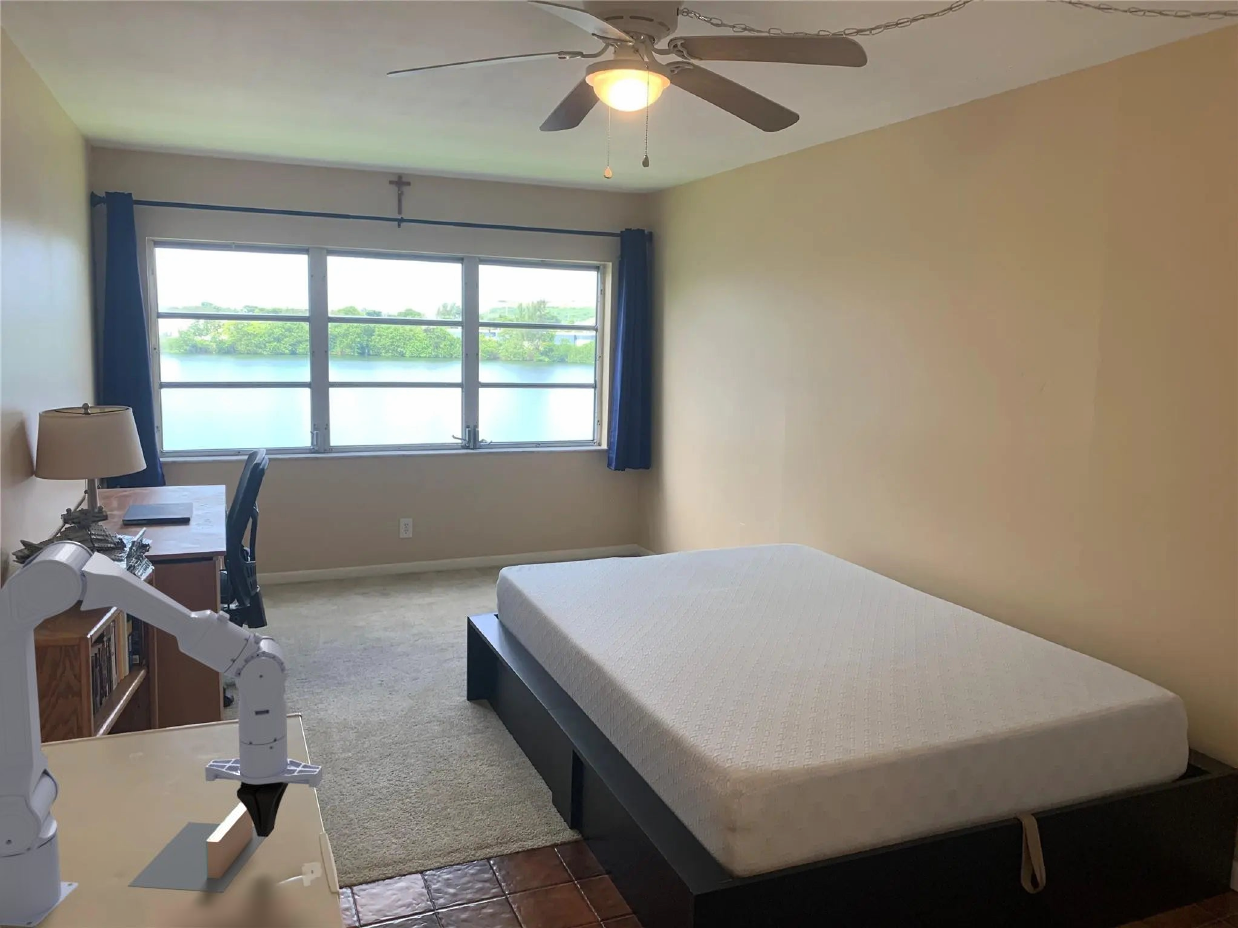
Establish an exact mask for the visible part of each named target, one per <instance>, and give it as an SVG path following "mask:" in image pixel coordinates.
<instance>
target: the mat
mask: <svg viewBox="0 0 1238 928" xmlns="http://www.w3.org/2000/svg"><path fill="white" fill-rule="evenodd" d="M220 825H221V823H207V822H195V821H194V822H193V821H192V822H191V821H189V822H187V824H185V826H183V828H182V829H181V830H180V831H179V832H178V833H176V835H175V836H174V837H173V838H172V839H171V840H170V841H169V843H167V845H165V847H164V848H163V849H162V850H160V852H159V853H158V854H157V855H156V856H155V857H154V858H153V859H152V860H151V861H150V862H149V863H148V864H147V865H146V866H145V867H144V868H143V869H142V871H140V873H138V874H137V875H136V877H134V879H133V880H131V882H130V883H129V884H128V885H127V886H128V887H134V888H136V887H138V888H149V889H165V890H180V891H195V892H196V891H197V892H209V893H211V892H213V893H224V892H225V890H226V889H227V888H228V887H229V885H230V884H231V883H232V881H233V880H234V879H235V878H236V876H237V875H238V874H239V872H240V871H241V870H242V868H243V867H244V866H245V865H246V863H247V862H248V861H249V859H250V858H252V855H253V854H254V853H255V852H256V850H257V849H258V848H259V847H260V846H261V844H262V842H263V841H265V839H266V838H267V837H258V836H257V833H256V830H255V827H254V825H252V827H253V837H252V839H251V840H250V841H249V842H248V844H247V845H246V846H245V847H244V849H243V850H242V851H241V852H240V854H239V855H238V856H237V857H236V859H235V860H234V861H233V862H232V864H231V865H230V866H229V867H228V869H227V870H226V871H225V872H224V873H223V875H222V876H221V877H220V878H207V863H206V840H207V839H208V838H209V837H210V836H211V835H212V834H213V832H214V831H215V830H216V829H217V828H218V827H219V826H220Z"/></svg>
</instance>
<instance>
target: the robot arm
mask: <svg viewBox="0 0 1238 928" xmlns="http://www.w3.org/2000/svg"><path fill="white" fill-rule="evenodd" d="M78 601H82V603H81V606H80V611H89V610H90V611H91V610H94V609H102V608H106V607H107V608H108V607H115V608H116V609H118V610H121V611H122V612H125V613H126V614H129V615H130V616H133V617H135V618H137V619H139V620H141V621H143V622H145V623H148V624H150V625H151V626H153V627H156V628H158V629H160V630H162V631H164V632H166V633H168V634H170V635H173V636H174V637H175V638H176V641H177V645H178V649H179V651H180V653H181V652H182V653H184V654H185V655H187V656H188V657H190V658H193V659H195V661H198V662H200V663H201V664H204V665H205V666H207V667H209V668H211V669H213V670H214V671H216V672H217V673H220V674H222V675H224V676H225V677H230V678H233V679H234V682H235V683H234V684H235V686H236V688H237V690H238V692H239V701H238V703H237V715H238V717H237V721H238V723H237V725H238V746H239V747H238V749H239V750H238V751H239V752H238V753H239V757H238V758H229V759H212V760H210V762H209V763H208V764H207V765H206V766H205V768H204V769H205V770H204V771H205V782H214V781H216V780H232V781H238V782H240V784H239V785H240V787H239V788H238V789H237V790H236V796H237V797H236V798H237V799H238V800H239V801H240V802H241V803H243V804H244V806H245V807H246V809H247V810H248V812H249V814H250V816H251V819H252V825H253V826H254V827H255V830H256V833H257V836H258V837H266V838H269V836H270V835H271V833H272V832H273V831H274V829H275V825H276V819H277V815H278V811H279V808H280V804H281V803H282V800H283V797H284V796H285V795H284V794H285V793H286V790H287V788H288V786H289V784H296V785H308V787H309V788H314V789H315V788H317V787H318V786H319V785H320V783H321V782H322V781H323V766H320V765H312V764H309V763H305V762H301V761H299V760H294V759H292V758H288V757H289V756H288V719H287V718H288V715H287V713H288V711H287V697H286V695H285V694H286V685H285V684H286V681H287V679H288V672H287V669H286V668H287V667H286V666H287V664H286V653H285V651H284V648H283V646H282V645H281V644H280V643H279V642H278V641H276V639H275V638H274V637H271V636H268V635H262V634H260V633H259V632H255V633H254V634H253V633H251V632H249V631H248V630H247V629H244V628H242V626H239V625H237V624H235V623H234V622H231V621H230V614H228V613H226V611H223V610H220V611H219V612H218V613H216V612H214V611H213V610H211V609H205V610H200V611H199V610H198V611H191V610H190V609H188V608H187V607H185V606H184V605H182V604H181V603H179V602H177V601H176V600H174V599H172V598H171V597H169V596H168V595H166V594H165V593H163V592H161V591H160V590H158V589H157V588H156V587H153V586H152V585H151V584H149V583H148V582H145V581H144V580H142V579H141V578H140V577H138V576H136V575H134V574H133V573H131V572H130V571H128V570H127V569H126V568H124V567H123V566H121V565H120V564H118V563H116V562H115V561H114V560H112V559H111V558H110V557H109V556H107V555H104V554H102V553H99V552H98V551H95V552H94V553H93V552H92V551H91V549H89V548H88V547H87V546H85V545H84V544H82V543H80V542H77V541H74V540H72V541H71V540H61V541H56V542H53V543H50V544H48V545H47V546H45V547H44V548H42V549H41V550H40V551H37V552H36V553H35V554H34V555H32V556H31V557H29V558H28V559H27V560H26V561H25V562H24V563H23V564H22V565H21V566H20V568H18V570H16V572H15V573H14V574H13V575H12V576H10V577H9V578H8V579H7V580H6V581H5V583H4V585H3V586H2V587H1V589H0V926H11V927H26V928H32V927H36V926H37V925H39V923H41V922H42V920H44V919H45V918H46V917H47V916H48V915H49V914H50V913H51V912H52V911H53V910H54V909H55V908H57V906H58V905H60V904H61V902H62V901H64V899H66V898H67V897H68V896H69V895H70V894H71V893H72V892H73V891H74V890H75V889H76V888H77V887H78V886H79V885H80V883H78V882H72V881H71V882H70V881H62V875H61V864H60V850H59V849H60V848H59V834H58V822H57V821H56V820H55V818H54V817H53V815H52V813H51V811H50V810H51V808H52V806H53V804H54V803H55V801H56V799H57V798H58V795H59V791H60V790H59V789H60V788H59V783H58V779H57V778H56V776H55V775H54V774H53V773H52V771H51V770H50V768H49V761H48V755H46V754H45V753H44V752H43V750H42V737H41V736H42V735H41V721H40V708H39V707H40V706H39V693H38V691H39V690H38V678H37V665H36V663H37V662H36V649H35V634H34V629H35V628H36V627H38V626H39V624H41V623H42V622H43V621H44V620H46V619H49V618H51V617H54V616H56V615H59V614H61V613H63V612H65V611H67V610H69V609H70V608H72V607H73V606H74V605H75V604H76V603H77V602H78ZM28 923H29V924H28Z"/></svg>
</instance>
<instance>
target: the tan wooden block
mask: <svg viewBox="0 0 1238 928" xmlns="http://www.w3.org/2000/svg"><path fill="white" fill-rule="evenodd" d="M220 824H221V825H220V826H219V827H218V828H217V829H216V830H215V831H214V832H213V834H212V835H211V836H210V837H209V838H208V839H207V840H206V863H207V878H220V877H221V876H222V875H223V873H224V872H225V871H226V870H227V869H228V867H229V866H230V865H231V864H232V862H233V861H234V860H235V859H236V857H237V856H238V855H239V854H240V852H241V851H242V850H243V849H244V847H245V846H246V845H247V844H248V842H249V841H250V840H251V839H252V837H253V827H252V826H253V821H252V819H251V816H250V814H249V812H248V810H247V809H246V807H245V806H244V804H243V803H242V802H241V801H240V802H239V803H238V804H237V806H235V808H234V809H233V810H232V811H231V812H230V813H229V814H228V815H227V817H225V819H224V820H223V821H222V822H221V823H220Z"/></svg>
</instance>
